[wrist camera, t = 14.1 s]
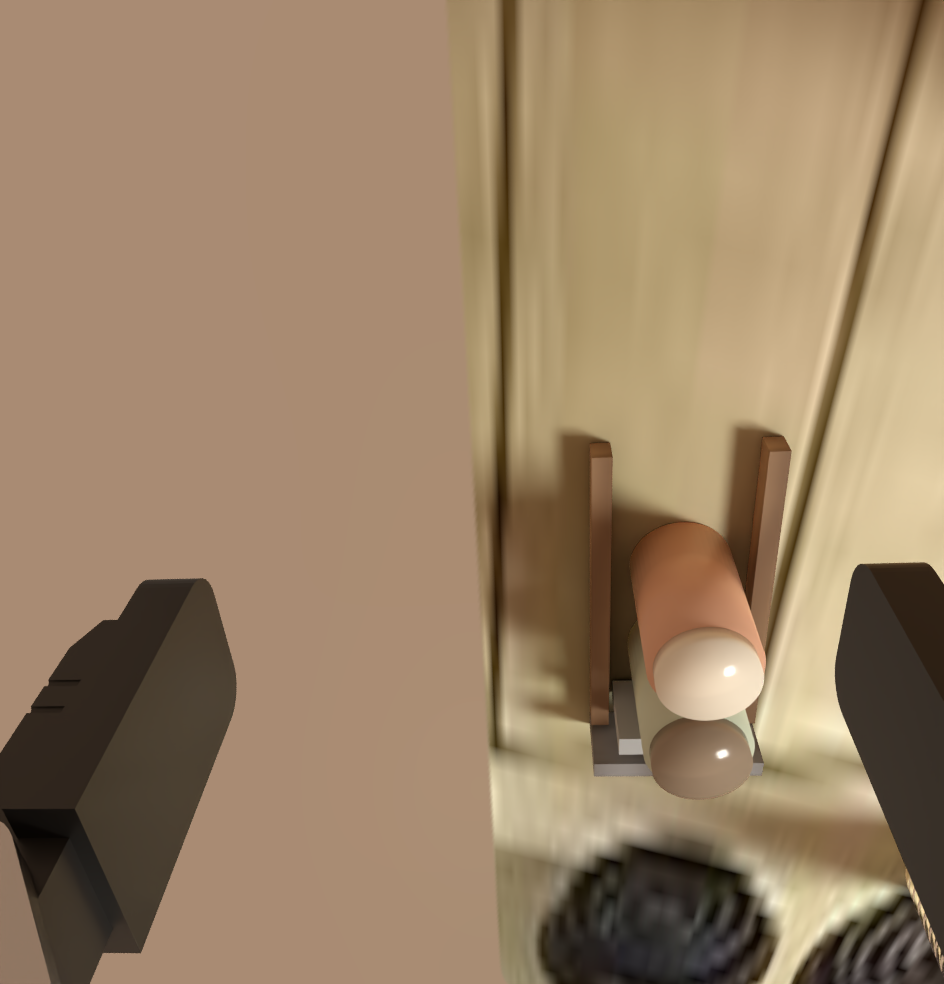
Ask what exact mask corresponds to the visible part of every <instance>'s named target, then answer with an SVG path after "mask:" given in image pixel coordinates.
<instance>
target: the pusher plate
mask: <svg viewBox="0 0 944 984" xmlns="http://www.w3.org/2000/svg"><path fill="white" fill-rule="evenodd" d="M612 699H613V708H614V717H615V725H616V734H617V743H618V751H619V755H635V754H643V750H642V743H641V737H640V730H639V723H638V716H637V709H636V702H635V695H634V688H633V682H632V681H612Z"/></svg>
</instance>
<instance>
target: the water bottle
mask: <svg viewBox="0 0 944 984" xmlns="http://www.w3.org/2000/svg"><path fill="white" fill-rule="evenodd" d="M905 878H906V883H907V887H908V890H909V892H910V896H911V899H912V901H913V903H914V905H915V908H916V911H917V913H918V915H919V917H920V920H921V923H922V926H923V928H924V930H925V932H926V935H927V938H928V940H929V942H930V944H931V947H932V950H933V953H934V955H935V957H936V959H937V962H938V965H939V967H940V969H941V971H942V974H943V977H944V957H943V955H942V952H941V950H940V948H939V945H938V943H937V940H936V938H935V936H934V933H933V931H932V928H931V926H930V924H929V921H928V919H927V916H926V914H925V912H924V909H923V907H922V904H921V902H920V899H919V897H918V895H917V892H916V890H915V887H914V885H913V883H912V880H911V878H910V875H909V873H908V871H907V868H906V870H905Z"/></svg>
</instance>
